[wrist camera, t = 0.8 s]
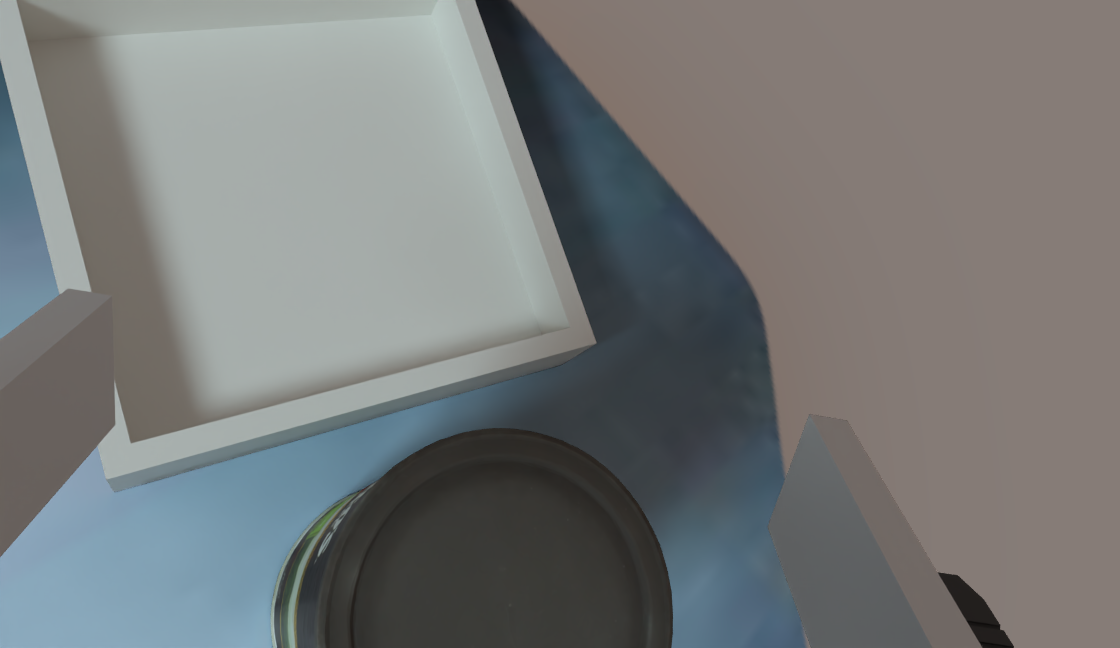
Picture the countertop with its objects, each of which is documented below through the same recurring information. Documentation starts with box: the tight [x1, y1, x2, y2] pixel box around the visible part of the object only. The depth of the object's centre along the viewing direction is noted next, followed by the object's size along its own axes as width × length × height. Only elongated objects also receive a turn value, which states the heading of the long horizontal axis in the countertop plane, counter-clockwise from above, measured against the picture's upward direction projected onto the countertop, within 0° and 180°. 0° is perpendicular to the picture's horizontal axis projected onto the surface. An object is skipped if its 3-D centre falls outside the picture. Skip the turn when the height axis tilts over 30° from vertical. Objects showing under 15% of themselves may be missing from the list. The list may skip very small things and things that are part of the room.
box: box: [0, 0, 596, 493], centre depth 37 cm, size 20×20×4 cm
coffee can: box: [271, 428, 673, 648], centre depth 30 cm, size 10×10×14 cm
